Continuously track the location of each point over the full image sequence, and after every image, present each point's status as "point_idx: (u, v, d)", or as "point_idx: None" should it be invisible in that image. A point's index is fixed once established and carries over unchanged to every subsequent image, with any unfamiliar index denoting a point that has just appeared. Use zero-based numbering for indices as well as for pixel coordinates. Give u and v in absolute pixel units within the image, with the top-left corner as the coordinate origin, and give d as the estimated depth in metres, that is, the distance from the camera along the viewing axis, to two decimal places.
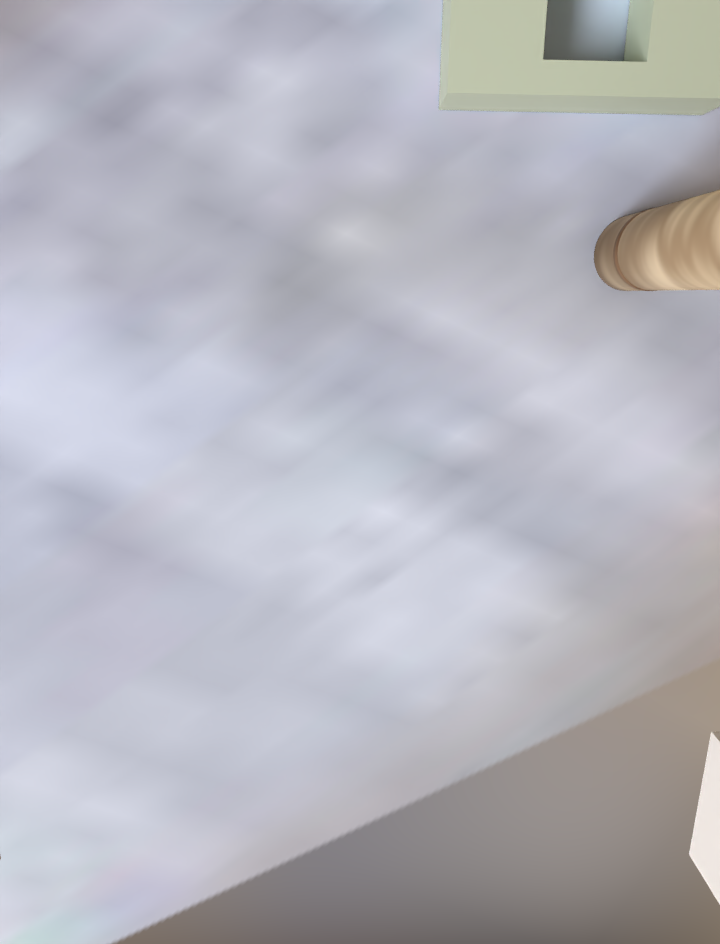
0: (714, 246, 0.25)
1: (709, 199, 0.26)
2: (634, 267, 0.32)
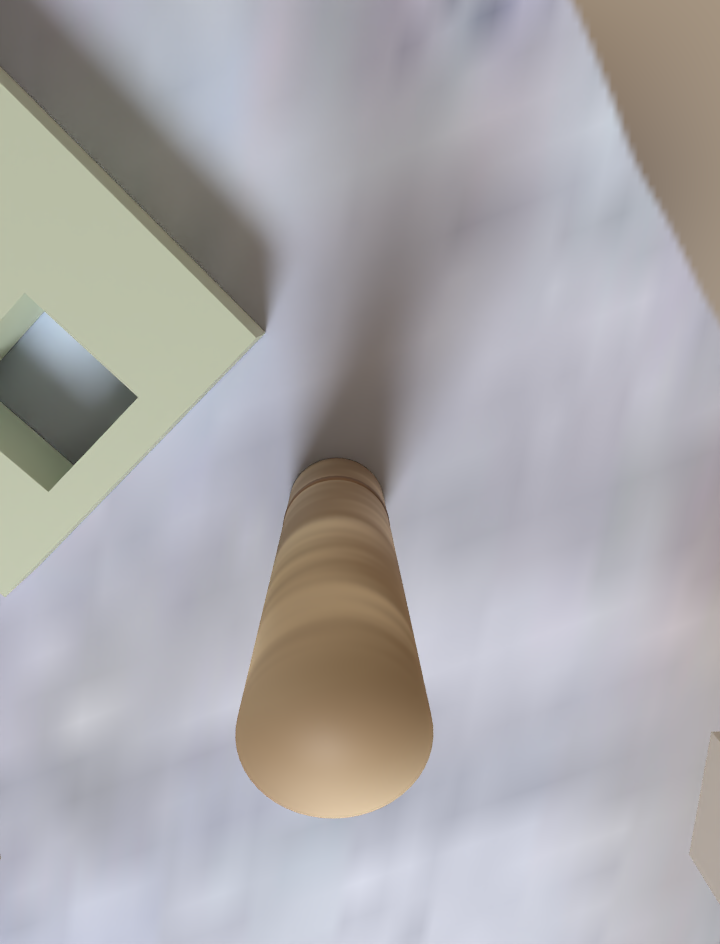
0: None
1: None
2: None
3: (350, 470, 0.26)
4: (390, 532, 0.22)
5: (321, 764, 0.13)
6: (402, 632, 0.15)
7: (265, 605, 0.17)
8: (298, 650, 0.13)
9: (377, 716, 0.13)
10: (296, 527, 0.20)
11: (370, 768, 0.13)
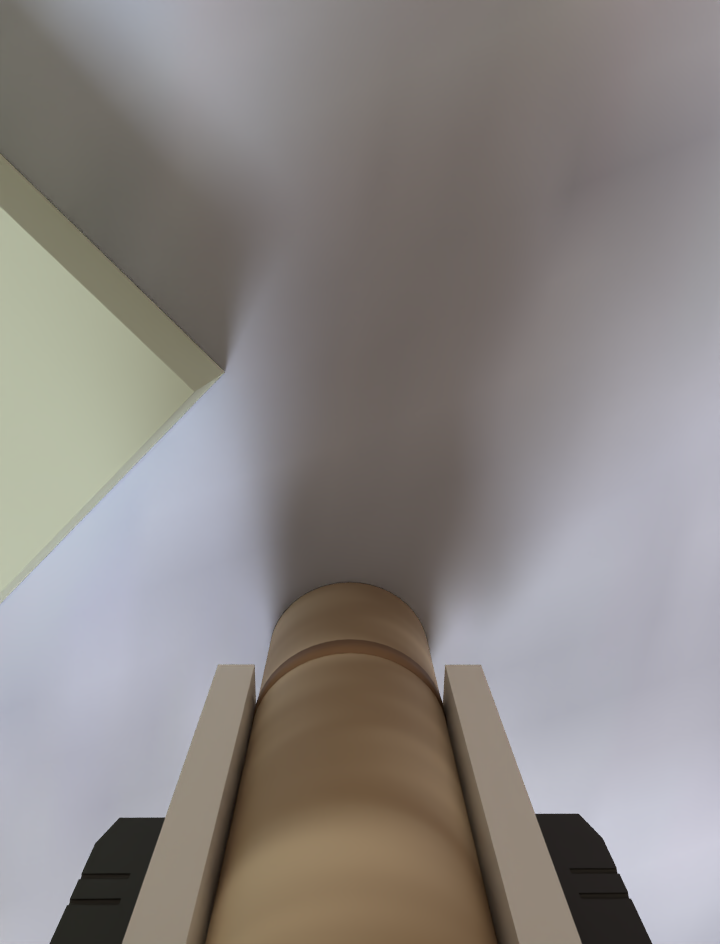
0: None
1: None
2: None
3: (374, 618, 0.14)
4: (459, 785, 0.11)
5: None
6: None
7: None
8: None
9: None
10: (263, 823, 0.09)
11: None
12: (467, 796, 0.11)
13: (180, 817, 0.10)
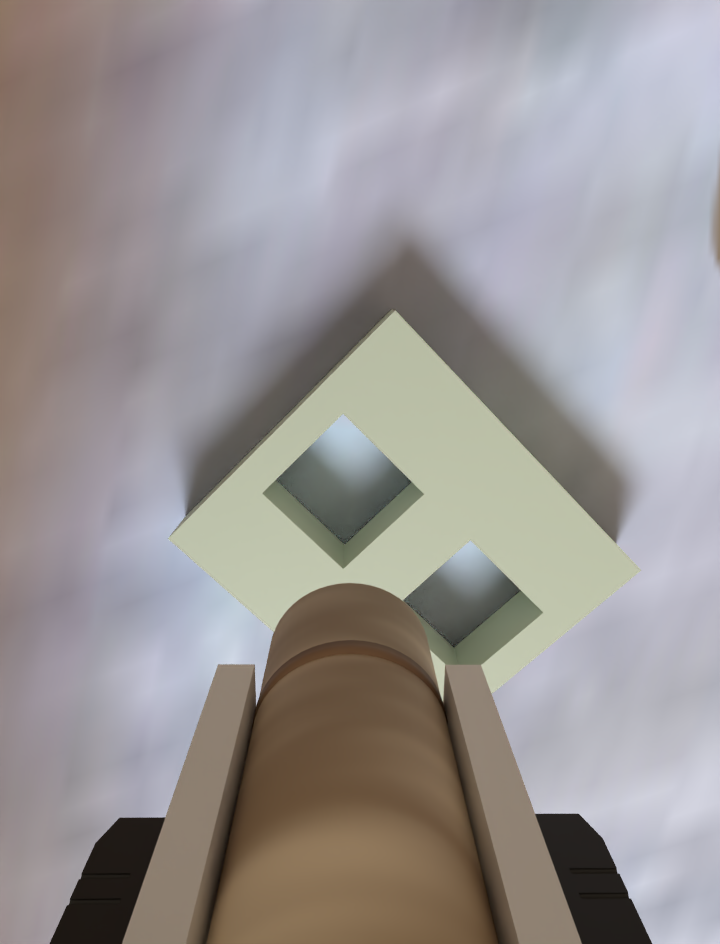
0: None
1: None
2: None
3: (375, 618, 0.14)
4: (460, 786, 0.11)
5: None
6: None
7: None
8: None
9: None
10: (263, 825, 0.09)
11: None
12: (467, 796, 0.11)
13: (180, 817, 0.10)
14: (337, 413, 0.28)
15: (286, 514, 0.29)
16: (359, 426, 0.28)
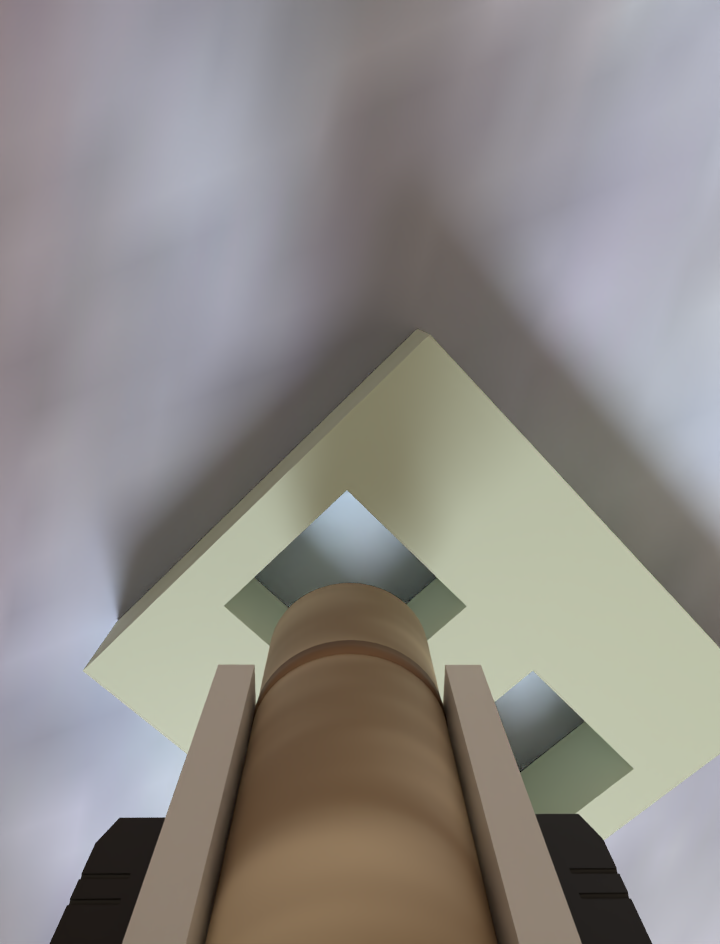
0: None
1: None
2: None
3: (374, 618, 0.14)
4: (459, 786, 0.11)
5: None
6: None
7: None
8: None
9: None
10: (262, 825, 0.09)
11: None
12: (467, 796, 0.11)
13: (180, 817, 0.10)
14: (338, 489, 0.18)
15: (260, 635, 0.19)
16: (371, 509, 0.18)
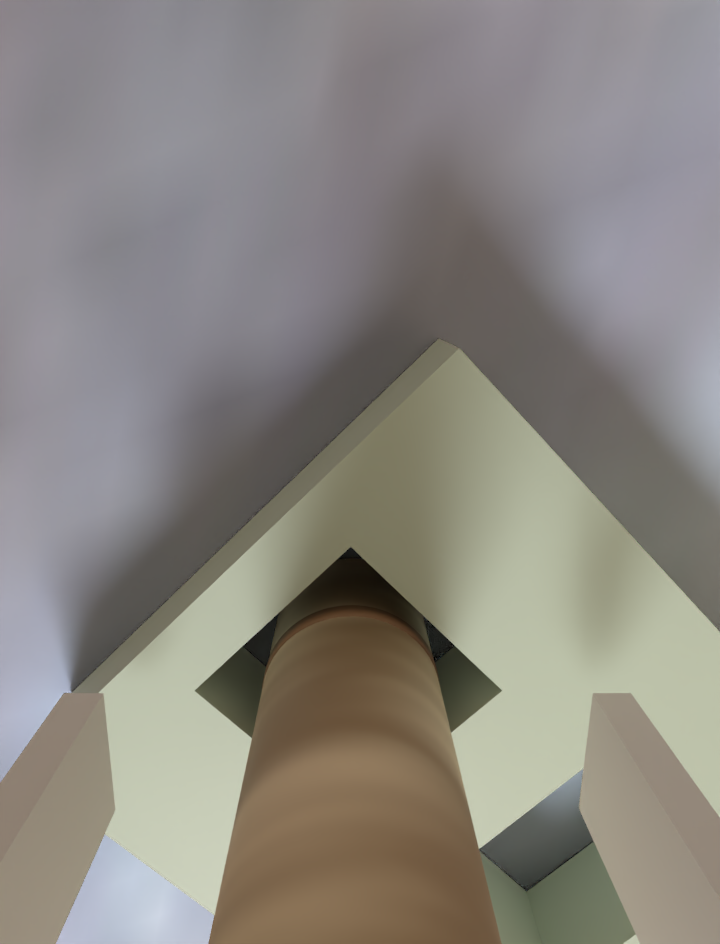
0: None
1: None
2: None
3: (373, 588, 0.16)
4: (448, 728, 0.13)
5: None
6: None
7: None
8: None
9: None
10: (276, 751, 0.11)
11: None
12: (654, 843, 0.10)
13: None
14: (339, 546, 0.14)
15: (242, 725, 0.15)
16: (382, 570, 0.14)
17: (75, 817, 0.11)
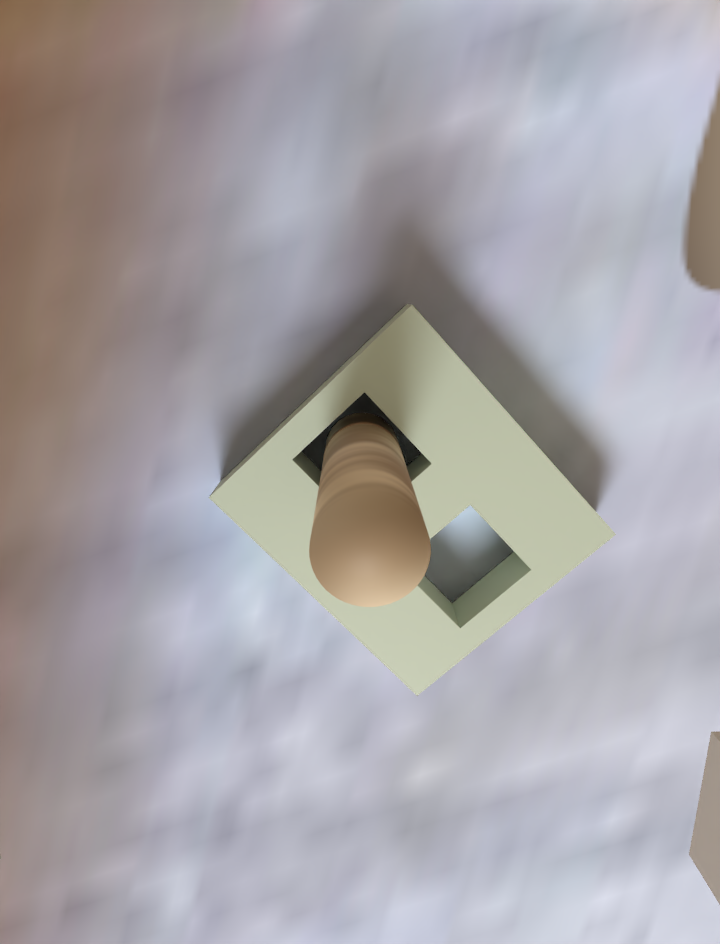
0: None
1: None
2: None
3: (374, 419, 0.34)
4: None
5: (361, 569, 0.22)
6: (412, 497, 0.23)
7: (320, 489, 0.25)
8: (349, 494, 0.21)
9: (396, 538, 0.21)
10: (337, 449, 0.29)
11: (391, 573, 0.22)
12: None
13: None
14: (359, 392, 0.32)
15: (312, 479, 0.33)
16: (378, 403, 0.32)
17: None
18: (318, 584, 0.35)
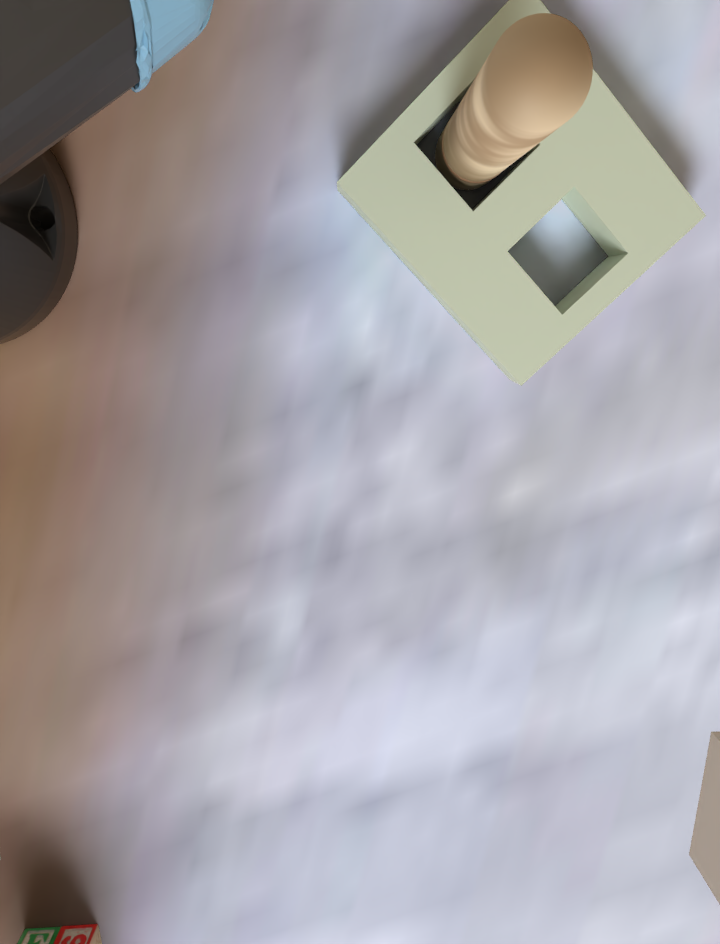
0: (494, 139, 0.28)
1: (466, 105, 0.29)
2: (472, 174, 0.35)
3: None
4: None
5: (532, 92, 0.25)
6: None
7: (472, 82, 0.28)
8: (523, 18, 0.24)
9: (563, 60, 0.25)
10: None
11: (557, 96, 0.25)
12: None
13: None
14: (476, 71, 0.35)
15: (431, 163, 0.37)
16: None
17: None
18: (434, 271, 0.38)
